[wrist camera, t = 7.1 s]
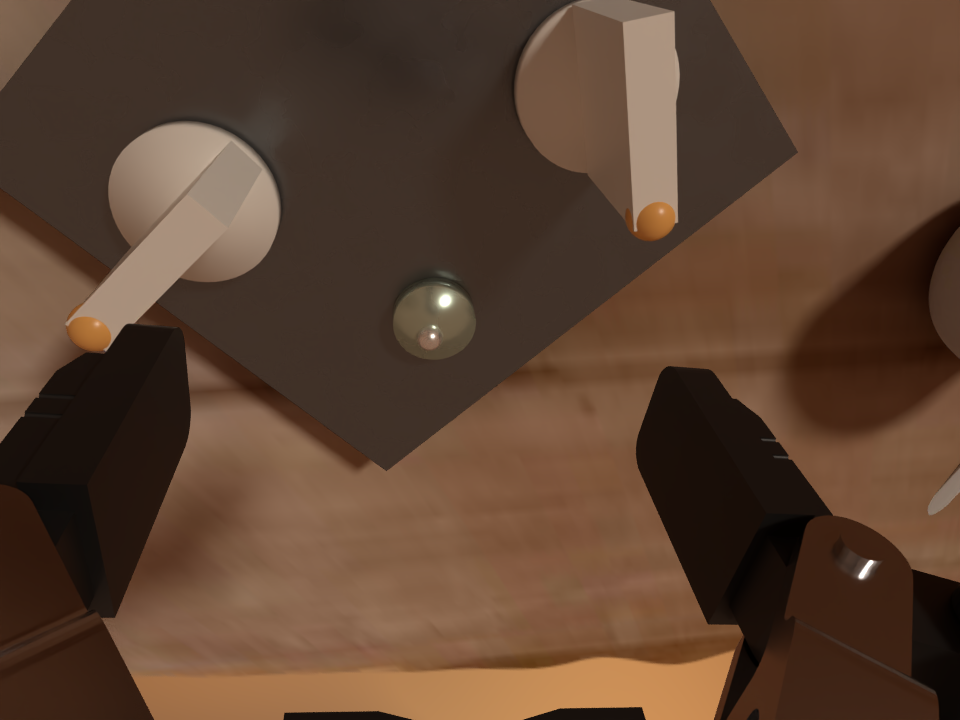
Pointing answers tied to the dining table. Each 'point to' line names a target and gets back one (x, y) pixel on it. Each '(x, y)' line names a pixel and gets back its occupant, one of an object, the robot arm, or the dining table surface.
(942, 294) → the teacup
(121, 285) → the knob
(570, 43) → the knob
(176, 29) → the levelling base
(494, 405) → the dining table surface
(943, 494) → the fork
